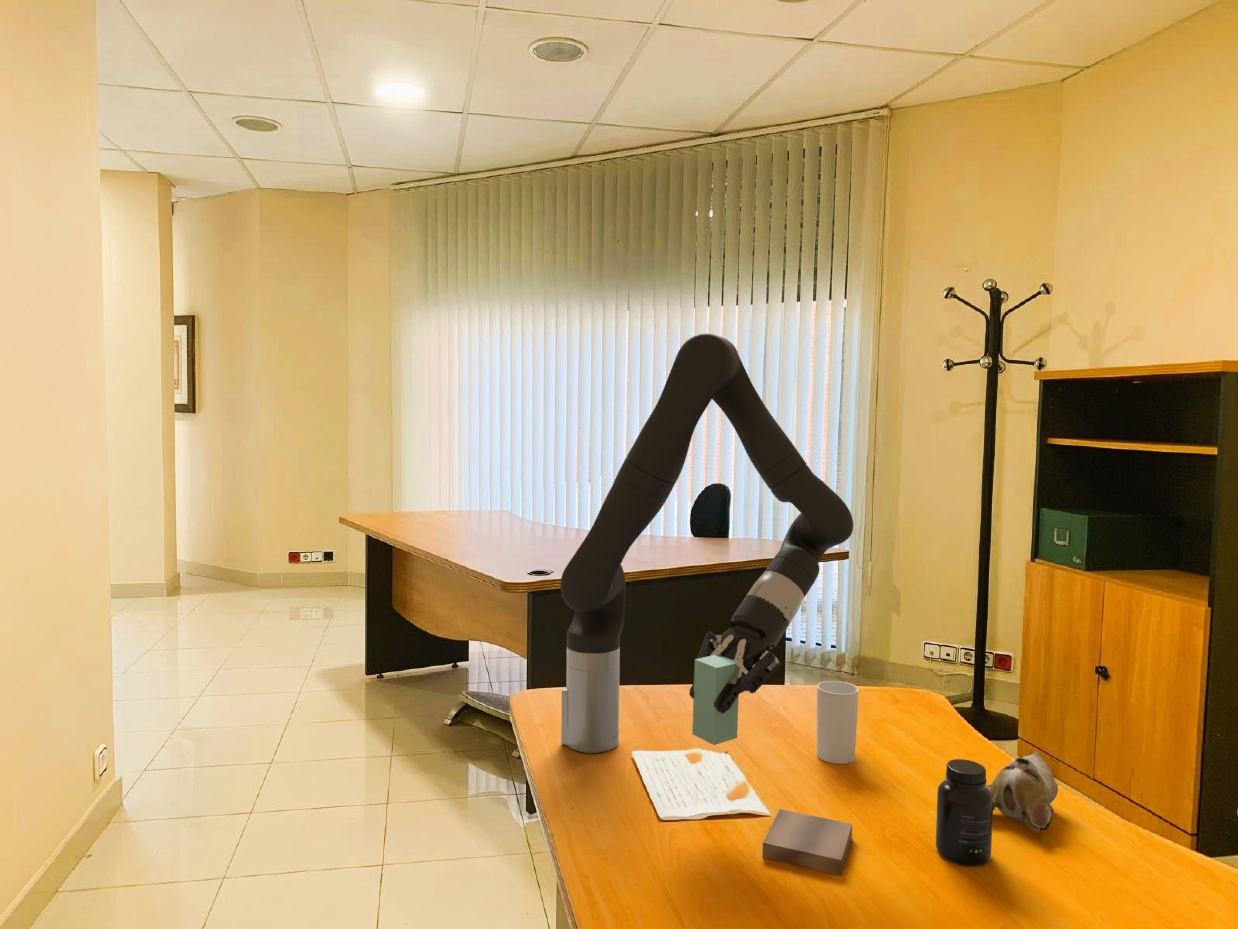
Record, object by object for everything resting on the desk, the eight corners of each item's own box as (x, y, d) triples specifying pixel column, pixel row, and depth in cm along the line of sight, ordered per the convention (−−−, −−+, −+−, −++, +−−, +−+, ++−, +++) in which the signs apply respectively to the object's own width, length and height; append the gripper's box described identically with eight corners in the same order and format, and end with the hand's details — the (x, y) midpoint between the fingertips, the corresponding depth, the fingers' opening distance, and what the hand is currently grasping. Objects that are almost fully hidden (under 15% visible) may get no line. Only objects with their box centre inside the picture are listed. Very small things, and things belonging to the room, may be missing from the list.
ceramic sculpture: (1076, 752, 121) (1044, 791, 110) (1075, 808, 122) (1043, 853, 111) (1000, 732, 128) (963, 768, 117) (999, 785, 129) (963, 825, 118)
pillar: (692, 734, 118) (694, 659, 117) (715, 727, 121) (717, 654, 120) (713, 745, 114) (716, 668, 114) (737, 738, 117) (739, 662, 116)
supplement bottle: (926, 841, 112) (929, 755, 111) (974, 839, 112) (977, 754, 112) (950, 869, 105) (954, 778, 104) (1001, 867, 106) (1005, 776, 105)
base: (762, 857, 107) (762, 842, 107) (779, 822, 116) (779, 809, 116) (840, 875, 103) (841, 860, 103) (851, 838, 112) (852, 824, 112)
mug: (849, 768, 134) (851, 697, 134) (809, 759, 138) (811, 689, 137) (866, 747, 143) (868, 680, 142) (828, 739, 147) (830, 673, 146)
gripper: (722, 584, 126) (659, 675, 120) (793, 603, 115) (728, 705, 109) (745, 613, 130) (685, 703, 124) (817, 635, 118) (755, 735, 112)
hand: (706, 703), depth 116 cm, fingers closed on pillar, 4 cm apart
